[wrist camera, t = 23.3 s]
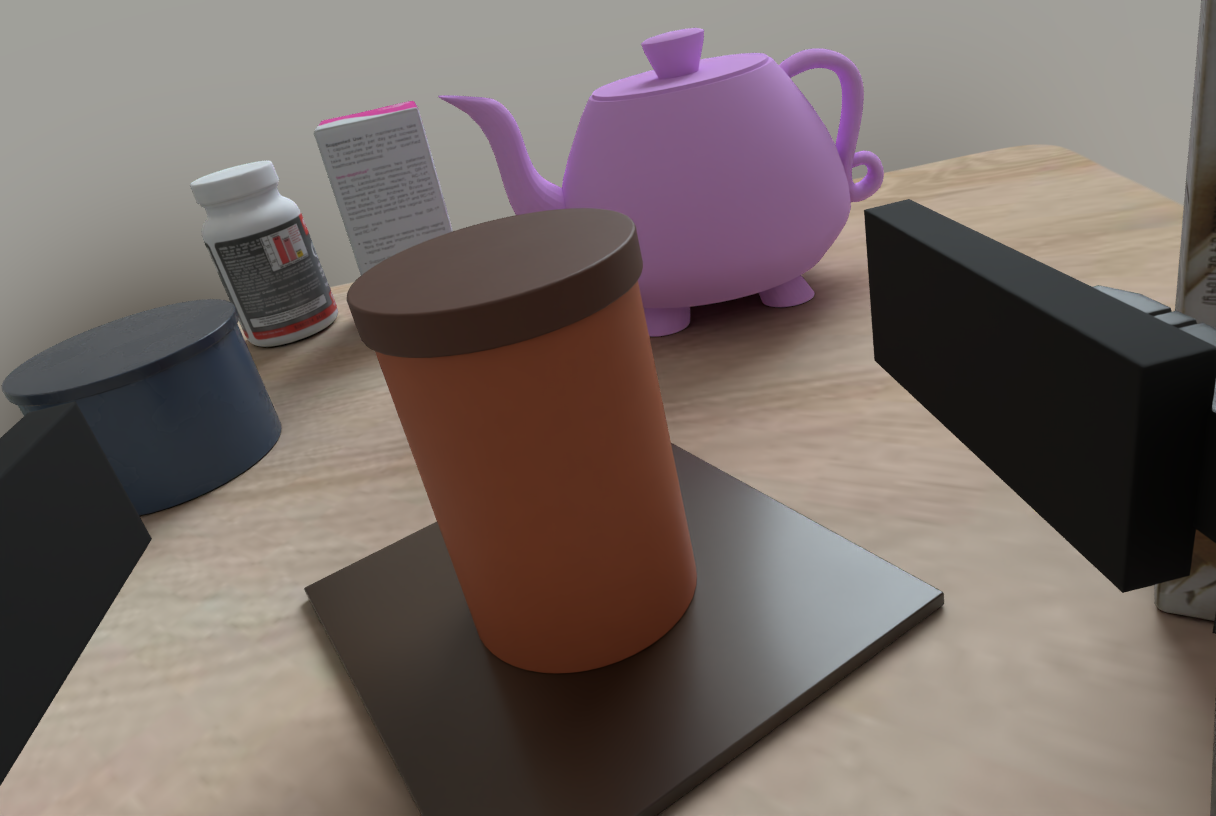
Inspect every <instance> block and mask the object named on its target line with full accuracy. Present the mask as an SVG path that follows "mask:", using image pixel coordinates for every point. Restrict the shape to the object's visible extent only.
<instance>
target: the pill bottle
mask: <svg viewBox="0 0 1216 816" xmlns="http://www.w3.org/2000/svg"><path fill="white" fill-rule="evenodd" d="M278 181H279V178H278V176H277V173H276V171H275V169H274V166H273V164H272V162H271V161H259V162H253V163H248V164H243V165H239V166H235V167H231V168H228V169H225V170H221V171H218V172H215V173H212V174H209V175H206V176H204V177H201V178H199V179H197V180H195V181H193V182H192V183H191V184H190V187H191V189H192V192H193V194H194V197H195V199H196V201H197V203H198V204H200V205H201V206H202V207H204V208H205V210H206V212H207V215H208V216H207V219H206V221H205V222H204V224H203V227H202V237H203V240H204V242H205V245H206V247H207V250H208V252H209V254H210V256H211V259H212V261H213V263H214V265H215V268H216V270H217V272H218V274H219V277H220V279H221V281H222V284H223V286H224V288H225V290H226V293H227V295H228V297H229V300H230V302H231V303H232V304H234V306H235V308H236V310H237V312H238V315H239V322H240V325H241V327H242V329H243V331H244V334H245V336H246V337H247V339H248V341H249V342H251V343H252V344H254V345H256V346H262V347H270V346H278V345H283V344H287V343H291V342H294V341H297V340H300V339H303V338H306V337H308V336H310V335H313V334H315V333H317V332H319V331H321V330H323V329H324V328H326V327H327V326H329V325H330V324H331V323H332V322H333V321H334V320H335V319H336V317H337V314H338V309H337V305H336V302H335V300H334V297H333V294H332V292H331V289H330V287H329V284H328V282H327V279H326V277H325V274H324V271H323V269H322V266H321V264H320V261H319V259H318V256H317V253H316V251H315V248H314V246H313V243H312V240H311V238H310V235H309V232H308V230H307V227H306V224H305V222H304V219H303V217H302V214H301V212H300V210H299V208H298V206H297V205H296V203H294V202H293V201H292V200H290V199H288V198H286V197H283V196H281V195H280V193H279V191H278V189H277V186H278Z"/></svg>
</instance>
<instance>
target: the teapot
mask: <svg viewBox="0 0 1216 816" xmlns="http://www.w3.org/2000/svg"><path fill="white" fill-rule="evenodd" d="M703 38H704V30H703V29H700V28H689V29H682V30H676V31H671V32H667V33H663V34H660V35H657V36H654V37H651V38H648V39H646V40H645V41H644V42H643V43H641V45H642V47H643V50H644V53H645V55H646V56H647V58H648V60H649V62H650V64H651V65H652V67H653V69H654V70H651V71H647V72H644V73H640V74H636V75H633V76H630V77H627V78H623V79H620V80H617V81H614V82H612V83H609V84H607V85H604V86H602V87H600V88H598V89H596V90H595V91H594V92H593V94H592V95H591V96H590V97H589V100H588V102H587V104H586V107H585V109H584V112H583V114H582V116H581V119H580V122H579V125H578V128H577V131H576V135H575V138H574V141H573V144H572V148H571V151H570V154H569V157H568V161H567V165H566V170H565V174H564V178H563V185H562V188H561V187H559V186H557V185H555V184H553V183H551V182H549V181H546V180H545V179H544V178H543V177H542V176H540V175H539V173H538V172H537V171H536V169H535V168H534V167H533V164H532V162H531V160H530V158H529V156H528V153H527V150H526V147H525V144H524V141H523V138H522V135H521V132H520V130H519V127H518V125H517V123H516V121H515V119H514V118H513V116H512V115H511V113H510V112H509V111H508V110H507V109H506V108H505V107H504V106H503V105H502V104H501V103H499V102H498V101H496V100H493V99H490V98H482V97H469V96H438V97H439V98H441V99H442V100H444V101H446V102H448V103H450V104H452V105H454V106H455V107H457V108H459V109H460V110H462V111H464V112H465V113H467V114H468V115H469V116H470V117H471V118H472V119H473V120H474V121H475V122H476V123H477V124H478V125H479V126H480V127H481V129H482V131H483V132H484V134H485V135H486V137H487V139H488V140H489V143H490V145H491V147H492V150H493V152H494V155H495V158H496V161H497V163H498V167H499V170H500V174H501V177H502V181H503V184H504V187H505V190H506V193H507V196H508V199H509V202H510V204H511V206H512V208H513V210H514V212H515V214H516V215H521V214H527V213H533V212H540V211H547V210H557V209H571V208H593V209H605V210H612V211H616V212H619V213H622V214H624V215H627V216H628V217H629V218H631V219H632V221H633V222H634V224H635V226H636V230H637V235H638V240H639V245H640V250H641V255H642V260H643V270H642V273H641V276H640V277H639V279H638V284H639V289H640V294H641V299H642V303H643V308H644V313H645V318H646V323H647V328H648V333H649V336H664V335H669V334H673V333H676V332H678V331H681V330H683V329H684V328H686V327H687V326H688V325H689V324H690V307H691V306H700V305H706V304H713V303H718V302H723V301H728V300H733V299H737V298H741V297H745V296H749V295H752V294H755V293H759V295H760V298H761V300H762V302H763V303H764V304H765V305H767V306H772V307H789V306H794V305H798V304H802V303H804V302H806V301H809V300H810V299H812V297H813V296H814V291H813V290H812V288H811V287H810V286H809V285H808V283H807V282H806V281H805V280H804V278H803V277H802V276H801V275H802V274H803V273H805V272H806V271H808V270H809V269H811V268H812V267H813V266H815V265H816V264H817V263H818V262H819V261H820V260H821V258H822V257H823V256H824V254H825V253H826V252H827V250H828V249H829V248H830V247H831V245H832V244H833V243H834V241H835V240H836V238H837V237H838V235H839V234H840V232H841V231H842V229H843V227H844V226H845V224H846V222H847V219H848V216H849V212H850V209H851V202H859V201H862V200H865V199H867V198H868V197H870V196H872V195H873V194H874V193H875V192H876V191H877V190H878V189H879V188H880V187H881V184H882V182H883V177H884V172H883V166H882V163H881V161H880V160H879V158H878V157H877V155H875V154H873V153H872V152H870V151H860V152H856V153H855V149H856V144H857V139H858V134H859V129H860V124H861V117H862V110H863V100H864V90H863V82H862V78H861V75H860V72H859V70H858V69H857V67H856V65H855V64H854V63H853V62H852V61H851V60H850V59H848V58H847V57H846V56H844V55H842V54H840V53H838V52H835V51H832V50H828V49H820V48H819V49H807V50H803V51H800V52H798V53H796V54H793V55H792V56H790V57H789V58H787V59H786V60H784V61H783V62H782V63H781V64H780V65H778V64H777V63H776V62H775V61H774V60H773V59H772V58H771V57H768V56H767V55H766V54H762V53H743V54H733V55H726V56H719V57H712V58H706V59H701V60H700V57H701V51H702V46H703ZM814 68H827V69H830V70H832V71H834V72H835V73H836V74H837V75H838V77H839V79H840V82H841V87H842V111H841V119H840V124H839V130H838V135H837V140H836V145H835V144H834V142H833V140H832V138H831V136H830V134H829V132H828V130H827V128H826V126H825V125H824V123H823V122H822V120H821V119H820V117H819V116H818V114H817V113H816V111H815V110H814V108H813V107H812V106H811V104H810V103H809V102H808V100H807V99H806V98H805V96H804V95H803V94H802V93H801V91H800V90H799V89H798V87H797V86H796V85H795V84H794V83H793V81H792V80H791V79H790V78H791V77H793V76H795V75H797V74H799V73H801V72H804V71H806V70H809V69H814ZM854 153H855V154H854ZM863 164H864V165H866V166H867V168H868V173H867V175H866V176H865V177H864V179H863V180H861V181H860V182H858V183H855V184H854V183H853V181H852V168H853V167H856V166H859V165H863Z"/></svg>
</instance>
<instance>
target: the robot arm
mask: <svg viewBox="0 0 1216 816" xmlns="http://www.w3.org/2000/svg"><path fill="white" fill-rule="evenodd" d="M864 215H865V230H866V244H867V258H868V273H869V287H870V302H871V316H872V330H873V345H874V359H875V361H876V362H877V363H878V364H879V365H880V366H881V367H882V368H883V369H884V370H885V371H886V372H888V373H889V374H890V375H891V376H892V377H893V378H894V379H895V380H896V381H897V382H898V383H899V384H900V385H901V386H902V387H904V388H905V389H906V390H907V391H908V392H909V393H910V394H911V395H912V396H913V397H914V398H915V399H916V400H917V401H918V402H920V403H921V404H922V405H923V406H924V407H925V408H926V409H927V410H928V411H929V412H930V413H931V414H932V415H933V416H935V417H936V418H937V419H938V420H939V421H940V422H941V423H942V424H943V425H944V426H945V427H946V428H947V429H948V430H949V431H951V432H952V433H953V434H954V435H955V436H956V437H957V438H958V439H959V440H960V441H961V442H962V443H963V444H964V445H965V446H967V447H968V448H969V449H970V450H971V451H972V452H973V453H974V454H975V455H976V456H977V457H978V458H979V459H980V460H981V461H983V462H984V463H985V464H986V465H987V466H988V467H989V468H990V469H991V470H992V471H993V472H994V473H995V474H996V475H998V476H999V477H1000V478H1001V479H1002V480H1003V481H1004V482H1005V483H1006V484H1007V485H1008V486H1009V487H1010V488H1011V489H1012V490H1014V491H1015V492H1016V493H1017V494H1018V495H1019V496H1020V497H1021V498H1022V499H1023V500H1024V501H1025V502H1026V503H1027V504H1028V505H1030V506H1031V507H1032V508H1033V509H1034V510H1035V511H1036V512H1037V513H1038V514H1039V515H1040V516H1041V517H1042V518H1043V519H1044V520H1046V521H1047V522H1048V523H1049V524H1050V525H1051V526H1052V527H1053V528H1054V529H1055V530H1056V531H1057V532H1058V533H1059V534H1061V535H1062V536H1063V537H1064V538H1065V539H1066V540H1067V541H1068V542H1069V543H1070V544H1071V545H1072V546H1073V547H1074V548H1075V549H1077V550H1078V551H1079V552H1080V553H1081V554H1082V555H1083V556H1084V557H1085V558H1086V559H1087V560H1088V561H1089V562H1090V563H1091V564H1093V565H1094V566H1095V567H1096V568H1097V569H1098V570H1099V571H1100V572H1101V573H1102V574H1103V575H1104V576H1105V577H1106V578H1108V579H1109V580H1110V581H1111V582H1112V583H1113V584H1114V585H1115V586H1116V587H1117V588H1118V589H1119V590H1120V591H1121V592H1122V593H1124V592H1128V591H1132V590H1136V589H1140V588H1144V587H1147V586H1151V585H1155V584H1159V583H1163V582H1167V581H1171V580H1175V579H1179V578H1183V577H1187V576H1190V570H1191V563H1192V555H1193V548H1194V540H1195V533H1196V529H1197V530H1198V531H1200V532H1201V533H1202V534H1204V535H1205V536H1206V537H1208V538H1209V539H1210V540H1212V541H1213V542H1214V543H1216V328H1214V327H1212V326H1210V325H1207V324H1205V323H1199V324H1197V322H1196V319H1194V318H1192V317H1190V316H1188V315H1185V314H1183V313H1181V312H1179V311H1173V312H1172V311H1171V308H1170V307H1168V306H1166V305H1163V304H1161V303H1159V302H1157V301H1155V300H1152V299H1150V298H1148V297H1146V296H1144V295H1141V294H1138V293H1134V292H1129V291H1124V290H1119V289H1114V288H1109V287H1104V286H1099V285H1098V286H1094V287H1091V286H1089V285H1087V284H1085V283H1083V282H1081V281H1079V280H1076V279H1074V278H1072V277H1070V276H1068V275H1066V274H1064V273H1062V272H1060V271H1058V270H1056V269H1054V268H1051V267H1049V266H1047V265H1045V264H1043V263H1041V262H1039V261H1037V260H1035V259H1033V258H1031V257H1029V256H1026V255H1024V254H1022V253H1020V252H1018V251H1016V250H1014V249H1012V248H1010V247H1008V246H1006V245H1004V244H1001V243H999V242H997V241H995V240H993V239H991V238H989V237H987V236H985V235H983V234H981V233H979V232H976V231H974V230H972V229H970V228H968V227H966V226H964V225H962V224H960V223H958V222H956V221H954V220H951V219H949V218H947V217H945V216H943V215H941V214H939V213H937V212H935V211H933V210H931V209H929V208H926V207H924V206H922V205H920V204H918V203H916V202H914V201H912V200H910V199H908V200H903V201H899V202H895V203H891V204H887V205H883V206H879V207H875V208H870V209H866V210H864ZM151 539H152V538H151V536H150V535H149V533H148V531H147V529H146V527H145V526H144V524H143V522H142V520H141V518H140V517H139V515H138V513H137V511H136V509H135V508H134V506H133V504H132V502H131V500H130V498H129V497H128V495H127V493H126V491H125V489H124V488H123V486H122V484H121V482H120V480H119V479H118V477H117V475H116V473H115V471H114V470H113V468H112V466H111V464H110V462H109V461H108V459H107V457H106V455H105V453H104V452H103V450H102V448H101V446H100V444H99V443H98V441H97V439H96V437H95V435H94V434H93V432H92V430H91V428H90V426H89V425H88V423H87V421H86V419H85V417H84V416H83V414H82V412H81V410H80V408H79V407H78V405H77V403H76V401H74V402H70V403H66V404H62V405H58V406H54V407H49V408H45V409H41V410H37V411H33V412H29V413H27V414H26V415H25V416H24V417H23V418H22V419H21V420H20V421H19V422H18V423H16V424H15V425H14V426H13V427H12V428H11V429H10V430H9V431H8V432H7V433H5V434H4V435H3V436H2V437H1V438H0V785H1V784H2V782H3V781H4V779H5V777H6V776H7V774H8V772H9V771H10V769H11V767H12V766H13V764H14V763H15V761H16V759H17V758H18V756H19V754H20V753H21V751H22V750H23V748H24V746H25V745H26V743H27V741H28V740H29V738H30V737H31V735H32V733H33V732H34V730H35V728H36V727H37V725H38V723H39V722H40V720H41V719H42V717H43V715H44V714H45V712H46V710H47V709H48V707H49V706H50V704H51V702H52V701H53V699H54V697H55V696H56V694H57V693H58V691H59V689H60V688H61V686H62V684H63V683H64V681H65V680H66V678H67V676H68V675H69V673H70V671H71V670H72V668H73V666H74V665H75V663H76V662H77V660H78V658H79V657H80V655H81V653H82V652H83V650H84V649H85V647H86V645H87V644H88V642H89V640H90V639H91V637H92V636H93V634H94V632H95V631H96V629H97V627H98V626H99V624H100V622H101V621H102V619H103V618H104V616H105V614H106V613H107V611H108V609H109V608H110V606H111V605H112V603H113V601H114V600H115V598H116V596H117V595H118V593H119V592H120V590H121V588H122V587H123V585H124V583H125V582H126V580H127V579H128V577H129V575H130V574H131V572H132V570H133V569H134V567H135V565H136V564H137V562H138V561H139V559H140V557H141V556H142V554H143V552H144V551H145V549H146V548H147V546H148V544H149V543H150V541H151ZM1213 633H1215V634H1216V614H1215V620H1214V627H1213ZM1210 816H1216V700H1215V722H1214V745H1213V767H1212V789H1211V811H1210Z"/></svg>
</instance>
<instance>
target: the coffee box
mask: <svg viewBox="0 0 1216 816" xmlns="http://www.w3.org/2000/svg"><path fill="white" fill-rule="evenodd" d="M1175 311H1179V312H1181V313H1183V314H1185V315H1188V316H1190V317H1192V318H1194V319H1196V322H1197V324H1199V323H1205V324H1207V325H1210V326H1212V327H1214V328H1216V0H1201V9H1200V22H1199V33H1198V45H1197V57H1196V69H1195V80H1194V92H1193V106H1192V116H1191V128H1190V140H1189V152H1188V164H1187V175H1186V188H1185V199H1184V211H1183V223H1182V235H1181V247H1180V258H1179V270H1178V281H1177V293H1176V305H1175ZM1155 604H1156V606H1157V607H1158V609H1160V610H1162V611H1164V612H1168V613H1175V614H1180V615H1185V616H1190V617H1196V618H1201V619H1207V620H1213V621H1214V620H1215V614H1216V543H1214V542H1213V541H1212V540H1210V539H1209V538H1208V537H1206V536H1205V535H1204V534H1202V533H1201V532H1200V531H1198V530H1197V529H1196V533H1195V540H1194V548H1193V555H1192V563H1191V570H1190V576H1187V577H1183V578H1179V579H1175V580H1171V581H1167V582H1163V583H1159V584H1155Z"/></svg>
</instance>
